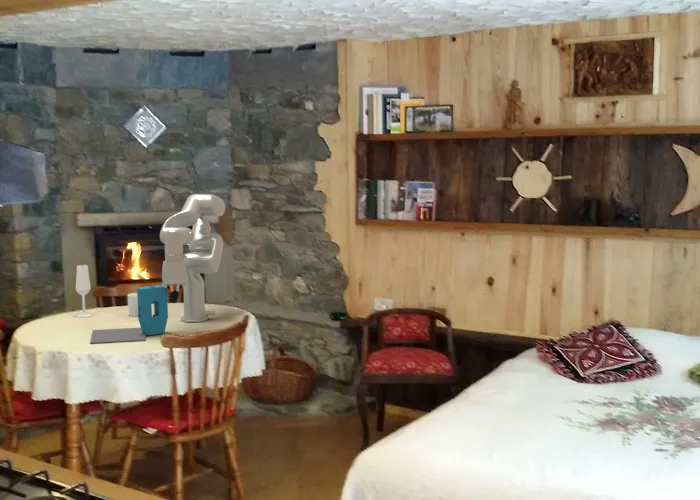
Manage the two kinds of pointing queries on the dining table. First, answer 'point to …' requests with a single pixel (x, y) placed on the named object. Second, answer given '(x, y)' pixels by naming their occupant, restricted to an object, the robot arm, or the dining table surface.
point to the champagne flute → (83, 286)
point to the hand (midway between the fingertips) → (174, 300)
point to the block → (145, 317)
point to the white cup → (133, 304)
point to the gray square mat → (117, 335)
